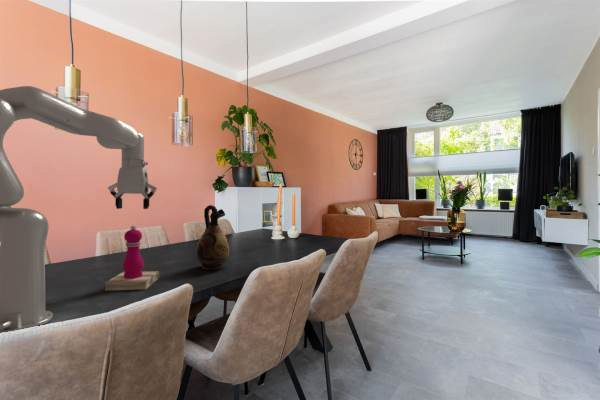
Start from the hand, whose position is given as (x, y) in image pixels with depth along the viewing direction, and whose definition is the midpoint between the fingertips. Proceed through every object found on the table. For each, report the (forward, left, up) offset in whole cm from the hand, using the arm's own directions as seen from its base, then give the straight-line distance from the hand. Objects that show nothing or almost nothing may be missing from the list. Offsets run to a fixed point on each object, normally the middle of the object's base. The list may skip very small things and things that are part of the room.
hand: (132, 208), depth 112 cm
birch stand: (0, 0, -30) cm, 30 cm away
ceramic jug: (+23, -26, -30) cm, 46 cm away
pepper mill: (0, 0, -27) cm, 27 cm away
